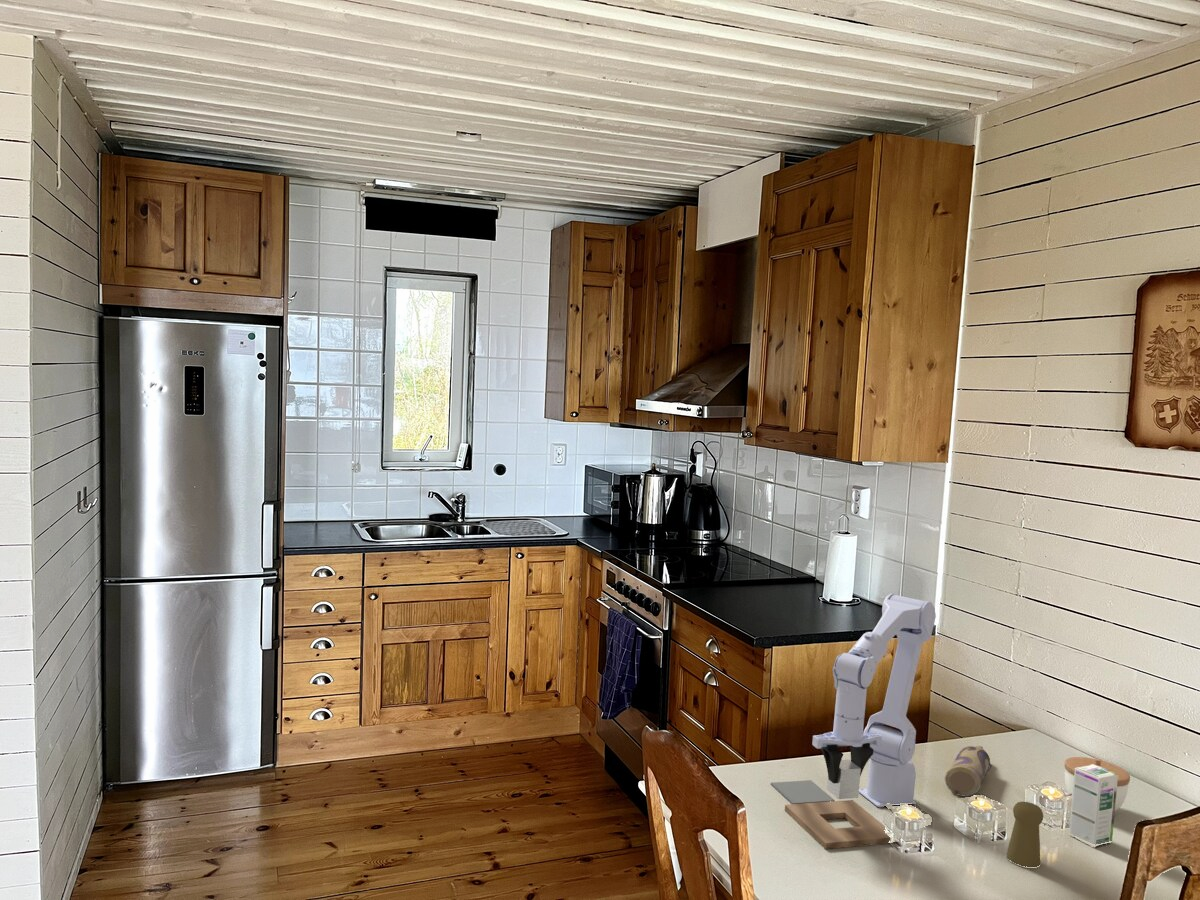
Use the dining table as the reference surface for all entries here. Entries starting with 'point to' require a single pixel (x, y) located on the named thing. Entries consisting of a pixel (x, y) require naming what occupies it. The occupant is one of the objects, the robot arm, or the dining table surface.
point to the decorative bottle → (968, 770)
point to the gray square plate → (802, 792)
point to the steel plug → (846, 781)
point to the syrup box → (1093, 804)
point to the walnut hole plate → (829, 837)
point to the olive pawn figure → (1025, 835)
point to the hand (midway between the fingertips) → (843, 780)
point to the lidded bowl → (1083, 761)
